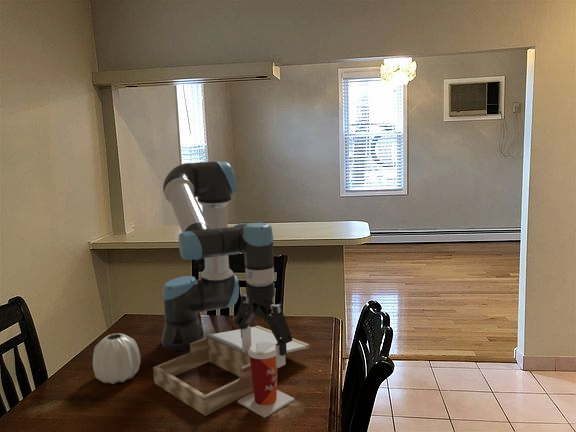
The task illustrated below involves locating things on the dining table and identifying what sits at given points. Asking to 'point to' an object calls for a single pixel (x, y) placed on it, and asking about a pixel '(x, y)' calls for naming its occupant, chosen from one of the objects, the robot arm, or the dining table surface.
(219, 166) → the robot arm
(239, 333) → the lid
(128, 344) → the vase
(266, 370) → the coffee cup
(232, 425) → the dining table surface
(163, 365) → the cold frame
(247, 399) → the stone tile
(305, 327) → the dining table surface
